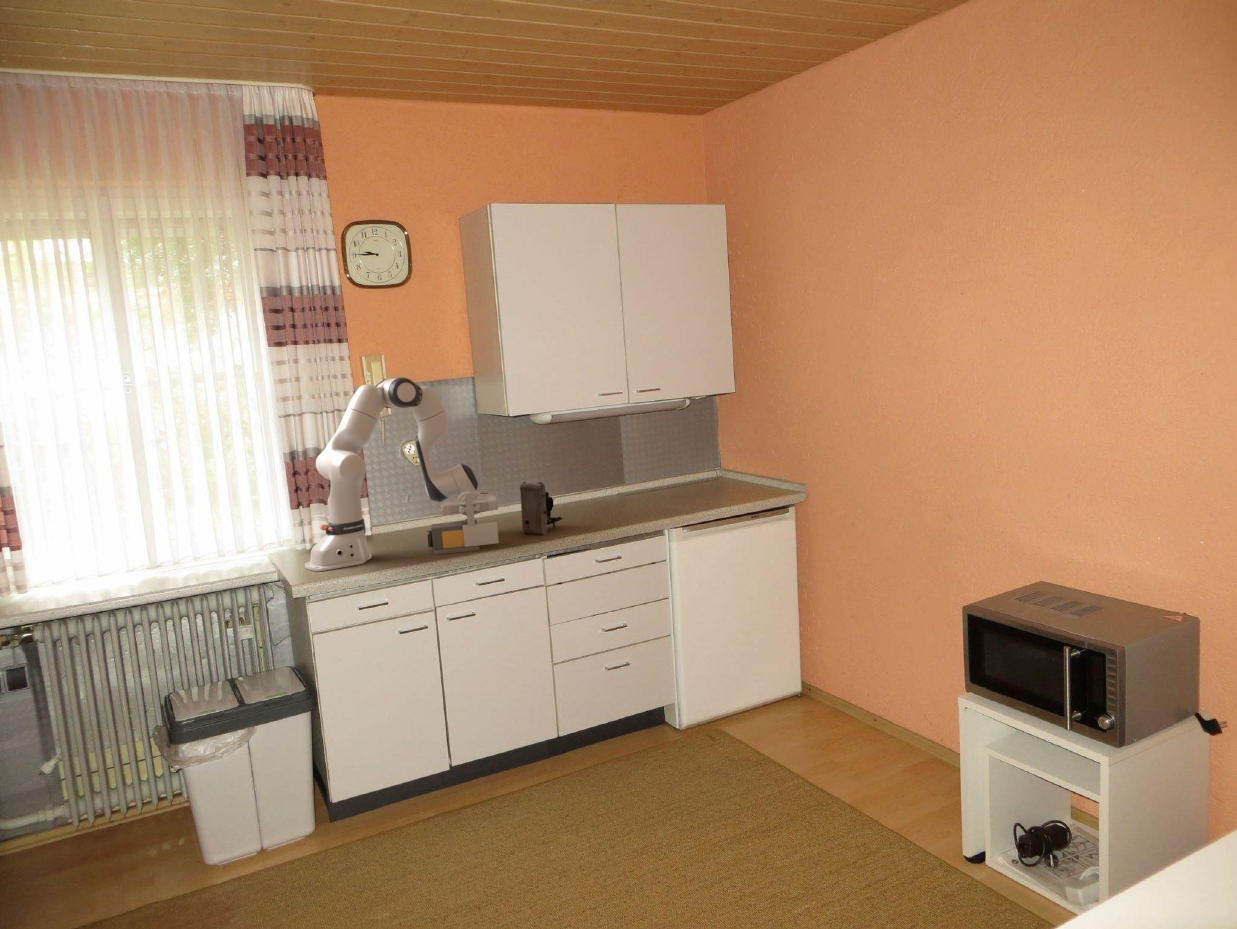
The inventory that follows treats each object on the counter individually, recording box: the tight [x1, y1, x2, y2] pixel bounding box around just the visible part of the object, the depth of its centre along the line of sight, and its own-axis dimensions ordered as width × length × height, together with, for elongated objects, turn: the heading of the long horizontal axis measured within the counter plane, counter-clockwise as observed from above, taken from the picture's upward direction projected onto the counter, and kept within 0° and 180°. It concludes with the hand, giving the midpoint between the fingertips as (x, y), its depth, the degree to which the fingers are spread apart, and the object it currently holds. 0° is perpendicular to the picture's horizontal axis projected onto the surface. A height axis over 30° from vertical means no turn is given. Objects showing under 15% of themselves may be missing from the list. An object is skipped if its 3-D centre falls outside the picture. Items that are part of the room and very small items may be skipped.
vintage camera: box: [519, 481, 565, 536], centre depth 342 cm, size 10×16×20 cm, turn 149°
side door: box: [463, 493, 500, 547], centre depth 318 cm, size 12×2×19 cm, turn 101°
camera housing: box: [426, 518, 480, 556], centre depth 321 cm, size 18×10×10 cm, turn 101°
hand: (470, 510), depth 316 cm, fingers closed on side door, 2 cm apart
